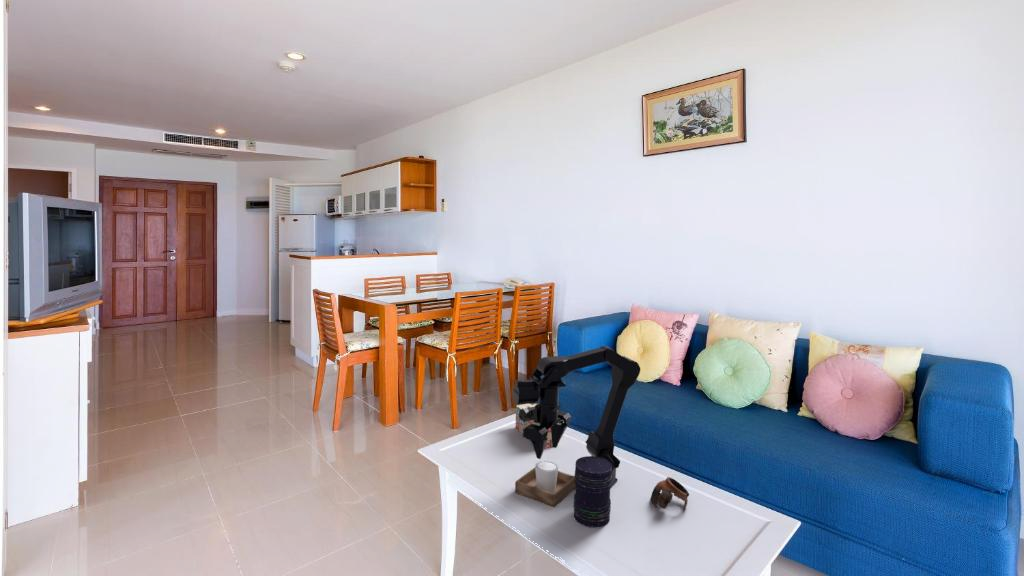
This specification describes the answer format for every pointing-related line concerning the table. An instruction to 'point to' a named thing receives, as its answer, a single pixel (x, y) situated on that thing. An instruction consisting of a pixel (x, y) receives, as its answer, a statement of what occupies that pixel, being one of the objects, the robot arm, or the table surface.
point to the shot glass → (546, 475)
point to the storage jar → (592, 491)
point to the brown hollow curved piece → (668, 493)
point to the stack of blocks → (521, 425)
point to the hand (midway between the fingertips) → (546, 452)
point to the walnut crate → (529, 489)
